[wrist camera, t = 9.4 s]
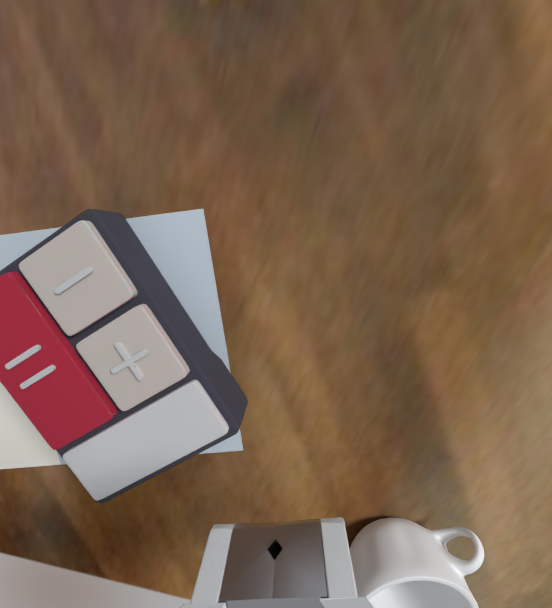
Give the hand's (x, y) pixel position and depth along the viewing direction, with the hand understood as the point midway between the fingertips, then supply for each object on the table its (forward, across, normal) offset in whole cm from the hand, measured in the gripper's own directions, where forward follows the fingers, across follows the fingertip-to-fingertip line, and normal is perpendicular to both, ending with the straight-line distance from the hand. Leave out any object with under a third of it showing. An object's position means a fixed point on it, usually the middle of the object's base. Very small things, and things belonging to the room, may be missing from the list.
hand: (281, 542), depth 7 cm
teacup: (+15, -7, +17) cm, 23 cm away
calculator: (+14, +11, 0) cm, 18 cm away
